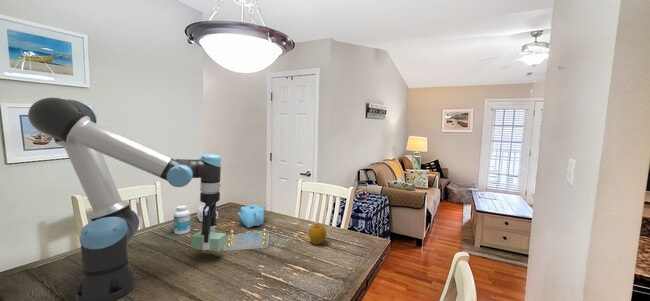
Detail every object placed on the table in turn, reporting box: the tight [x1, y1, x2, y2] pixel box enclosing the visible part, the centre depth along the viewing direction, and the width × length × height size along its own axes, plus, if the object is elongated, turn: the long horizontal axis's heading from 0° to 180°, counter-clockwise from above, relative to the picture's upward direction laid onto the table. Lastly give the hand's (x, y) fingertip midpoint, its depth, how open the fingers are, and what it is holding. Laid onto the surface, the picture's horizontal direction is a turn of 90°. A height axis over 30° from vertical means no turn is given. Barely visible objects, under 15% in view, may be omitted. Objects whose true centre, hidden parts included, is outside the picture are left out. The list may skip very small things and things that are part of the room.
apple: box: [308, 224, 327, 246], centre depth 129 cm, size 9×8×9 cm
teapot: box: [236, 204, 268, 229], centre depth 150 cm, size 16×18×11 cm
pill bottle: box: [173, 205, 191, 235], centre depth 137 cm, size 8×7×14 cm
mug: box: [196, 205, 219, 223], centre depth 155 cm, size 12×8×8 cm
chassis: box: [222, 228, 270, 252], centre depth 128 cm, size 20×14×4 cm
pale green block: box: [190, 230, 227, 252], centre depth 113 cm, size 12×6×5 cm, turn 81°
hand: (208, 244), depth 113 cm, fingers closed on pale green block, 7 cm apart
